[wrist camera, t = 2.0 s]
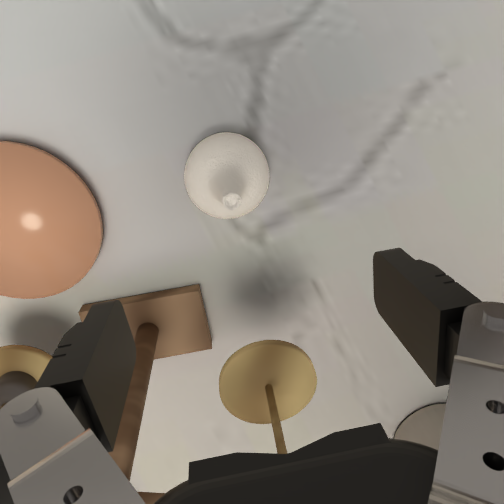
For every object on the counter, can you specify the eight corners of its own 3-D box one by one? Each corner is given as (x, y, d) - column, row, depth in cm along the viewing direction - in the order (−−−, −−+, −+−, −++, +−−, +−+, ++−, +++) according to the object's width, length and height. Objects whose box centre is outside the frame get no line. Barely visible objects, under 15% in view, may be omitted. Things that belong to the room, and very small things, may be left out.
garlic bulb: (200, 119, 28) (184, 125, 21) (279, 146, 29) (291, 162, 22) (178, 198, 31) (158, 229, 23) (253, 221, 31) (256, 259, 24)
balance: (282, 267, 33) (370, 474, 15) (290, 327, 36) (373, 566, 18) (-7, 318, 32) (-272, 605, 14) (23, 377, 35) (-171, 682, 17)
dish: (75, 127, 27) (69, 129, 26) (123, 275, 32) (119, 283, 31) (-98, 154, 27) (-113, 158, 25) (-23, 301, 31) (-33, 311, 30)
